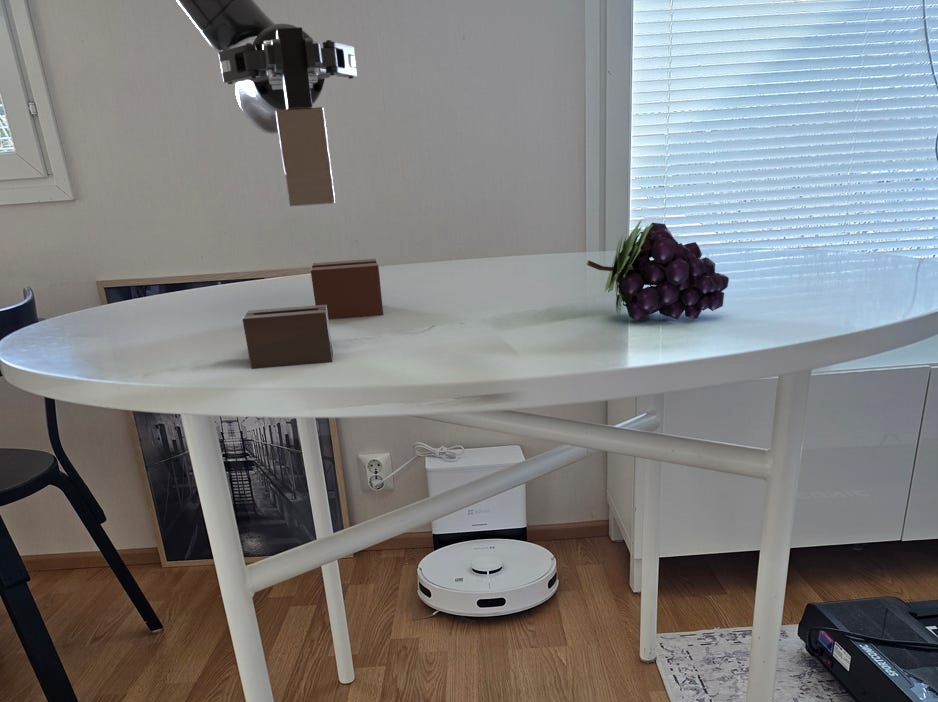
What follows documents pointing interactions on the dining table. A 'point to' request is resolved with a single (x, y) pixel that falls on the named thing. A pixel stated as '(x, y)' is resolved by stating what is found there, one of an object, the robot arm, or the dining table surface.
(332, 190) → the knife
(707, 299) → the fruit
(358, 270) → the slotted brown box
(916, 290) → the dining table surface
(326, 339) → the knife block
